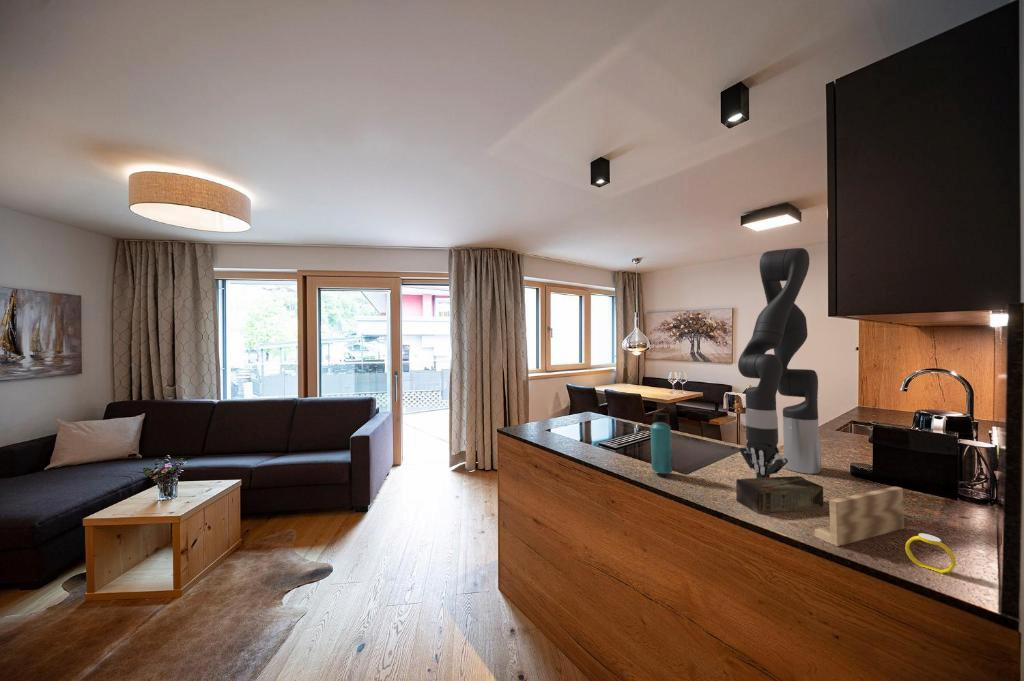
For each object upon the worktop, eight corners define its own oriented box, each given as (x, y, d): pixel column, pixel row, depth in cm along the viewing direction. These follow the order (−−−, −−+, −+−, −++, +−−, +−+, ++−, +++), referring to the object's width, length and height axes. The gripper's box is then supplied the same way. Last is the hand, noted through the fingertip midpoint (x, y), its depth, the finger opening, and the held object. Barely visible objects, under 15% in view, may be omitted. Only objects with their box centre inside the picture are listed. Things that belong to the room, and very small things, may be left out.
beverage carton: (826, 509, 91) (825, 483, 91) (758, 516, 88) (757, 489, 89) (797, 496, 99) (796, 472, 99) (734, 502, 96) (733, 477, 96)
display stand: (880, 519, 85) (878, 481, 85) (904, 528, 80) (902, 488, 81) (814, 536, 78) (813, 494, 78) (837, 546, 74) (835, 502, 74)
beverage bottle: (675, 478, 113) (673, 415, 113) (653, 477, 114) (651, 414, 114) (670, 471, 119) (668, 411, 120) (649, 470, 120) (647, 411, 121)
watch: (955, 575, 65) (957, 543, 65) (953, 581, 63) (955, 548, 63) (906, 557, 70) (908, 527, 70) (903, 562, 68) (905, 531, 68)
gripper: (795, 428, 95) (797, 493, 95) (749, 419, 108) (751, 476, 108) (774, 431, 93) (776, 497, 93) (730, 421, 106) (732, 480, 106)
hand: (763, 486), depth 100 cm, fingers closed
